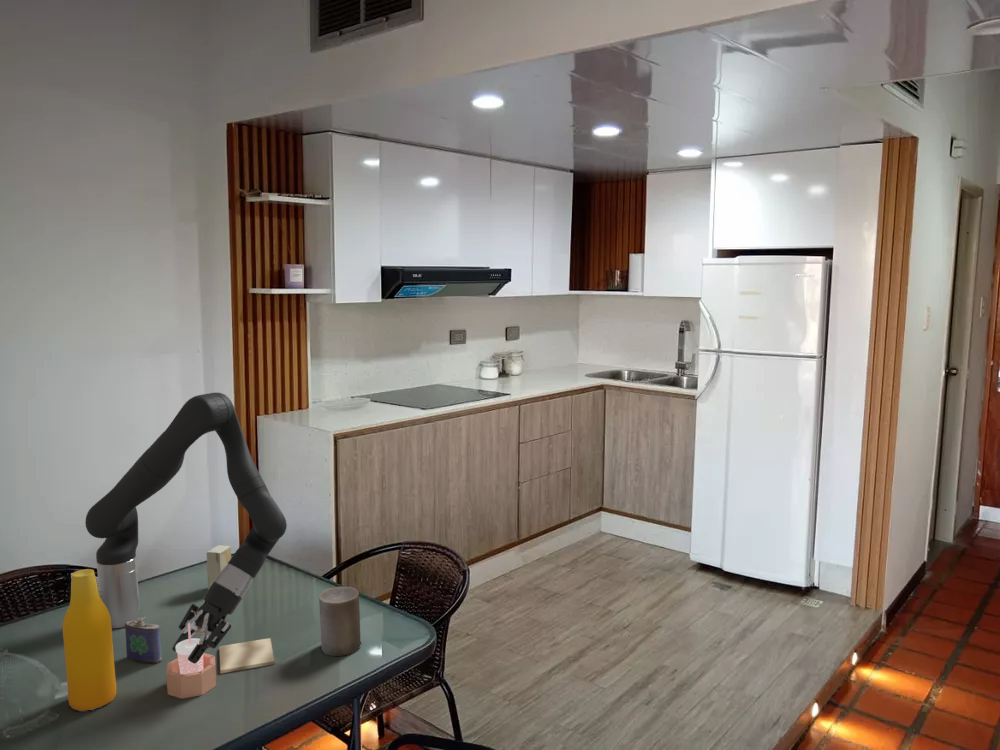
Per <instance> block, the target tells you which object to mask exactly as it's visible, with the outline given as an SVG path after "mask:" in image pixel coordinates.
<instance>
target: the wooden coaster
mask: <svg viewBox="0 0 1000 750" xmlns="http://www.w3.org/2000/svg"><path fill="white" fill-rule="evenodd" d="M274 656H275V655H274V651H273V646H272V639H271V638H270V637H269V638H261V639H256V640H250V641H249V640H248V641H244V642H238V643H237V642H236V643H232V644H226V645H220V646H219V667H220V668H219V670H220V674H225V673H231V672H237V671H238V672H239V671H243V670H244V671H245V670H250V669H254V668H261V667H266V666H273V665H275V657H274Z"/></svg>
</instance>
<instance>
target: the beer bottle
mask: <svg viewBox="0 0 1000 750" xmlns="http://www.w3.org/2000/svg"><path fill="white" fill-rule="evenodd" d="M97 583H98V582H97V577H96V574H95V570H94V569H91V568H86V569H83V568H82V569H79V570H76V571H73V572H72V573H71V583H70V585H71V586H70V599H69V600H70V601H69V605H68V608H67V610H66V612H65V615H64V617H63V620H62V636H63V648H64V649H63V650H64V660H65V661H64V662H65V669H66V670H65V673H66V682H67V685H66V687H67V699H68V704H69V707H70V706H71V707H72V708H74V709H76V710H90V709H94V708H97V707H101V706H103V705H105V704H107V703H109V702H110V701H111V702H112V701H113V700H114V699H115V698H116V695H117V681H116V667H115V658H114V657H115V656H114V645H113V644H114V643H113V628H112V627H111V617H110V614H109V611H108V609H107V607H106V606H105V604H104V603H103V601H102V600H101V598H100V596H99V592H98V591H99V587H98V584H97ZM114 697H115V698H114ZM111 702H110V703H111ZM110 703H109V704H110ZM107 705H108V704H107ZM71 707H70V708H71ZM72 708H71V709H72ZM101 708H102V707H101ZM74 709H73V710H74ZM76 710H75V711H76Z"/></svg>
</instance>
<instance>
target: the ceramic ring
mask: <svg viewBox="0 0 1000 750" xmlns="http://www.w3.org/2000/svg"><path fill="white" fill-rule="evenodd" d="M216 669H217V667H216V656H215V655H212V654H209V653H206V652H204V657H203V670H201V671H199V672H195V673H189V674H183V675H182V674H180V669H179V662H178V657H177V658H175V659H173V660H172V661H171V660H170V662H168V663H167V665H166V672H165V673H166V688H167V690H166V691H167V695H169V696H173V697H176V698H178V699H188V698H193V697H197V696H198V697H199V696H202V695H204V694H206V693H207V692H208V691H210V690H212V689H214V687H217V671H216Z"/></svg>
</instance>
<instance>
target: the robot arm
mask: <svg viewBox="0 0 1000 750" xmlns="http://www.w3.org/2000/svg"><path fill="white" fill-rule="evenodd" d="M210 432H216V434H217V435H218V438H219V439H220V441H221V443H222V445H223V447H224V448H223V449H224V451H225V459H226V472H227V478H228V481H229V484H230V486H231V488H232V490H233V493H234V494H235V496H236V497H237V498H236V499H238V501H239V504H240V505H241V506H242V508H243V509H244V510H246V512H247V514H248V515H249V518H250V519H251V520H250V521H252V522H251V523H252V524H253V526H252V527H251V529H250V531H249V532H248V534H247V536H245V537H246V538H245V539H244V540H243V542H242V544H241V545H240V546H238V548H237V549H236V550H235V552H234V554H233V555H231V559H230V561H229V562H228V564H227V565H226V566H225V567H224V569H223V570H222V571H221V572H220V573H219V575H218V576H217V578H216V579H215V581H214V582H213V584H212V585H211V587H210V588H209V590H208V589H207V591H206V593H205V594H204V595H203V601H204V602H203V603H202V605H200V606H198V605H197V604H195V603H193V604H191V605H190V606H189V608H188V610H187V612H186V613H185V615H184V617H183V618H182V620H181V622H180V624H179V625H178V629H179V630H180V635H179V637H177V640H176V641H175V642H174V644H173V646H172V649H171V650H172V651H173V652H175V653H177V652H176V647H175V646H176V645H177V644H178V643H179V642H181V641H183V640H186V639H189V637H188V623H190V632H191V638H193V636H194V635H195V634H196V633H200V634H201V635H200V638H199V639H200V641H199V644H197V645H196V647H195V648H194V650H193V651H192V653H191V654H190V656H189V657H188V660H189V661H190V662H192V663H194V664H195V663H197V662H198V661H199V659H200V658H201V656H202V655H203V653H206V650H207V649H210V648H211V649H216V647H218V645H219V643H220V642H221V641H222V640H223V639H224V638H225V636H226V635H227V633H229V631H230V630H231V628H232V624H231V623H229V622H228V621H226V617H227V616H228V615H229V616H230V615H232V614H233V613H234V612H235V610H236V609H237V607H238V606H239V604H240V603H241V601H242V600H243V598H244V597H245V595H246V593H247V592H248V590H249V589H250V587H251V585H252V583H253V581H254V579H255V578H256V576H257V575H258V573H259V571H260V570H261V568H262V567H263V565H264V564H265V561H266V558H267V557H268V555H269V554H270V553H271V552H272V550H273V549H274V547H275V545H276V544H277V543H278V541H279V540H280V539H281V538H282V537H283V536H284V535H285V533H286V531H287V527H288V525H287V520H286V517H285V515H284V514H283V511H282V510H281V508H280V507H279V506H278V504H277V502H276V501H275V500H274V498H273V497H272V496H271V494H270V492H269V490H268V489H269V488H267V486H266V484H265V482H264V479H263V478H262V475H261V474H260V472H259V470H258V468H257V465H256V464H255V462H254V460H253V457H252V455H251V453H250V450H249V449H250V448H249V446H248V444H247V441H246V438H245V435H244V432H243V429H242V425H241V423H240V421H239V416H238V414H237V411H236V408H235V406H234V404H233V401H232V400H231V399H230V398H229V397H228V396H227V395H226V394H224V393H222V392H210V393H205V394H198V395H195V396H193V397H191V398H189V399H188V400H187V401H186V402H185V403H184V404H183V405H182V407H181V408H180V410H179V411H178V412H177V414H176V415H175V417H173V420H172V421H171V422H170V424H169V425H168V426H167V428H166V429H165V430H164V431H163V432H162V433H161V434H160V436H158V437H157V438H156V440H155V441H153V443H151V445H149V447H148V448H147V449H146V450H145V451H144V452H143V453H142V454H141V455H140V457H138V458H137V460H136V461H135V463H134V464H133V465H132V466H131V467H130V468H129V469H128V471H127V472H126V473H125V474H124V475H123V476H122V478H120V480H119V481H118V482H117V484H115V486H113V487H112V489H111V490H110V491H108V493H107V494H105V495H104V496H103V497H102V498H101V499H99V500H98V501H97V502H95V504H93V505H92V506H91V507H90V508H89V509H88V511H87V513H86V515H85V516H86V517H85V523H84V524H85V529H86V531H87V532H88V533H89V535H90V536H92V537H93V538H97V539H105V540H104V541H103V543H102V544H101V545H100V546H99V548H97V550H96V554H95V558H96V569H97V570H96V571H97V581H98V582H97V583H98V584H97V586H98V592H99V596H100V598H101V600H102V601H103V603H104V604H105V606H106V607H107V609H108V611H109V614H110V617H111V627H112V629H120V628H121V629H122V628H125V624H126V622H128V621H133V620H135V621H137V620H136V619H138V618H141V609H140V593H139V582H138V580H139V579H138V567H137V554H136V553H137V547H138V544H139V516H138V510H137V507H138V506H139V505H140V504H142V503H143V502H145V501H146V500H148V499H150V498H151V497H153V496H154V495H156V494H157V493H158V492H160V491H161V490H162V489H163V488H164V487H165V486H166V485H167V484H168V483H170V481H171V480H172V479H173V478H175V476H176V475H177V474H178V473H179V472H180V470H181V468H182V467H183V463H184V459H185V456H186V455H185V454H186V453H187V450H188V449H190V447H192V445H193V444H194V443H195V442H196V441H197V440H199V438H201V437H202V436H203V435H205V434H208V433H210ZM137 622H138V621H137ZM186 624H187V625H186ZM214 639H215V640H214Z"/></svg>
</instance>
